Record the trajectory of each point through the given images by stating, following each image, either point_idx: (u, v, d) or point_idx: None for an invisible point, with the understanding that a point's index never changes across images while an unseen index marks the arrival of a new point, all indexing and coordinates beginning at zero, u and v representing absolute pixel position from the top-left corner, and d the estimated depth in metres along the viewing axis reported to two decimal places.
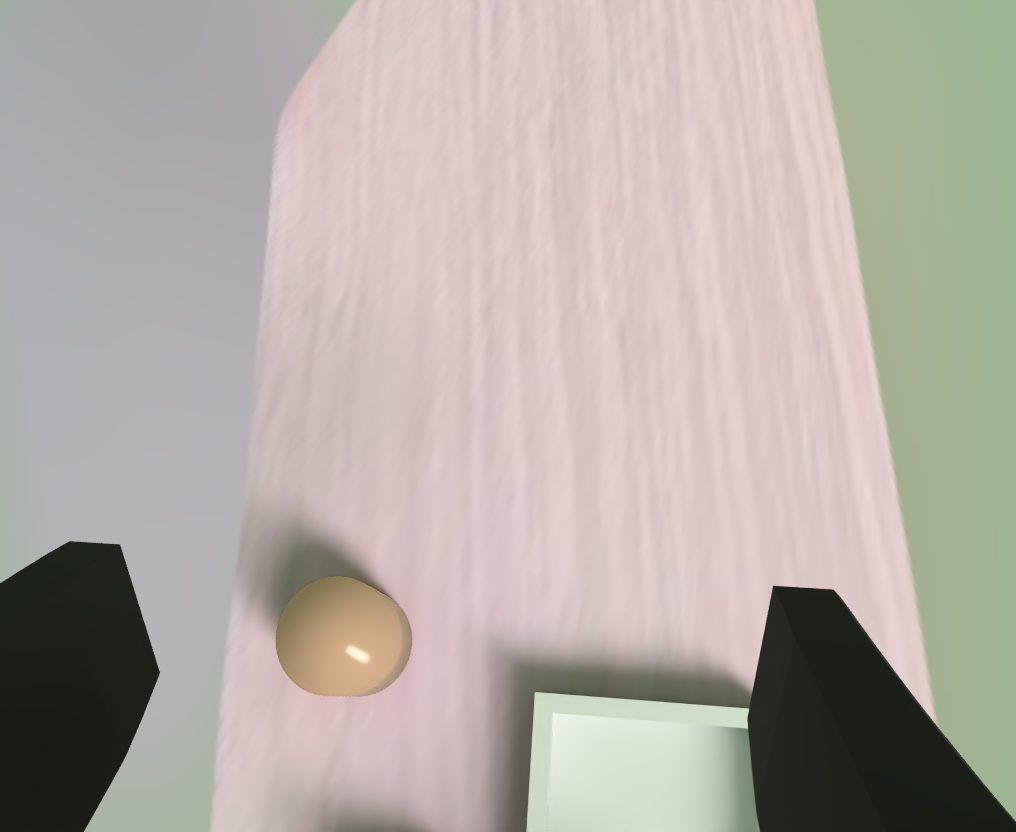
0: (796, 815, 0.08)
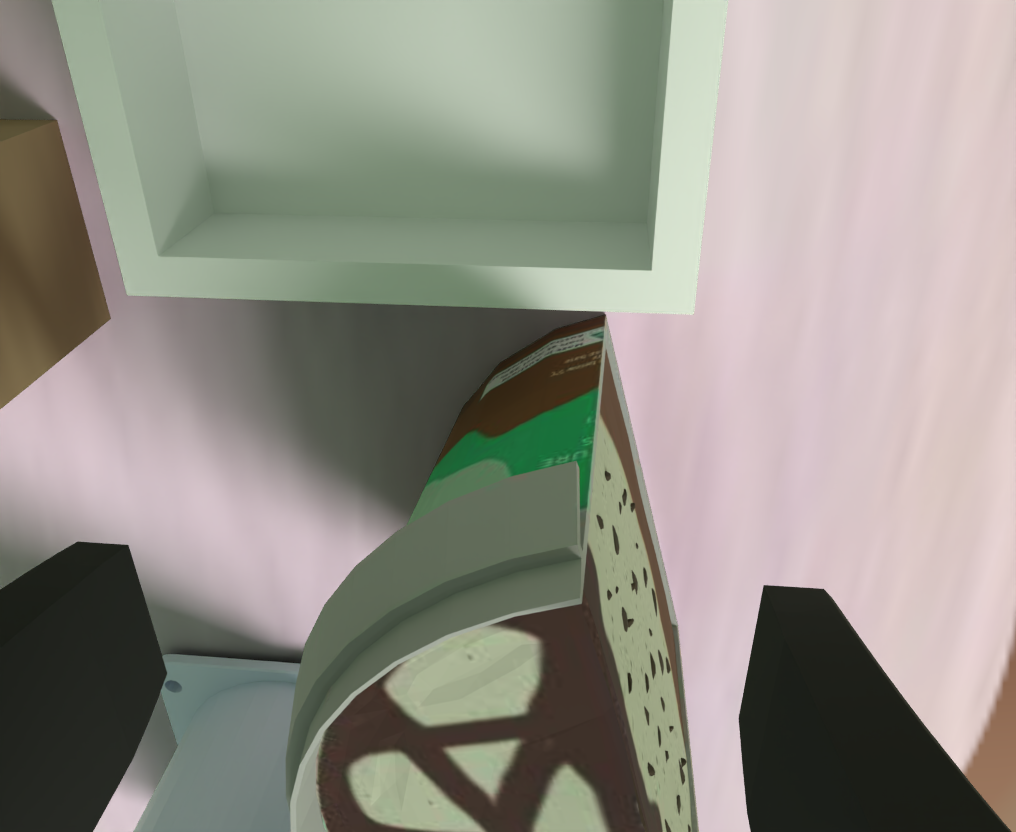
0: (785, 814, 0.08)
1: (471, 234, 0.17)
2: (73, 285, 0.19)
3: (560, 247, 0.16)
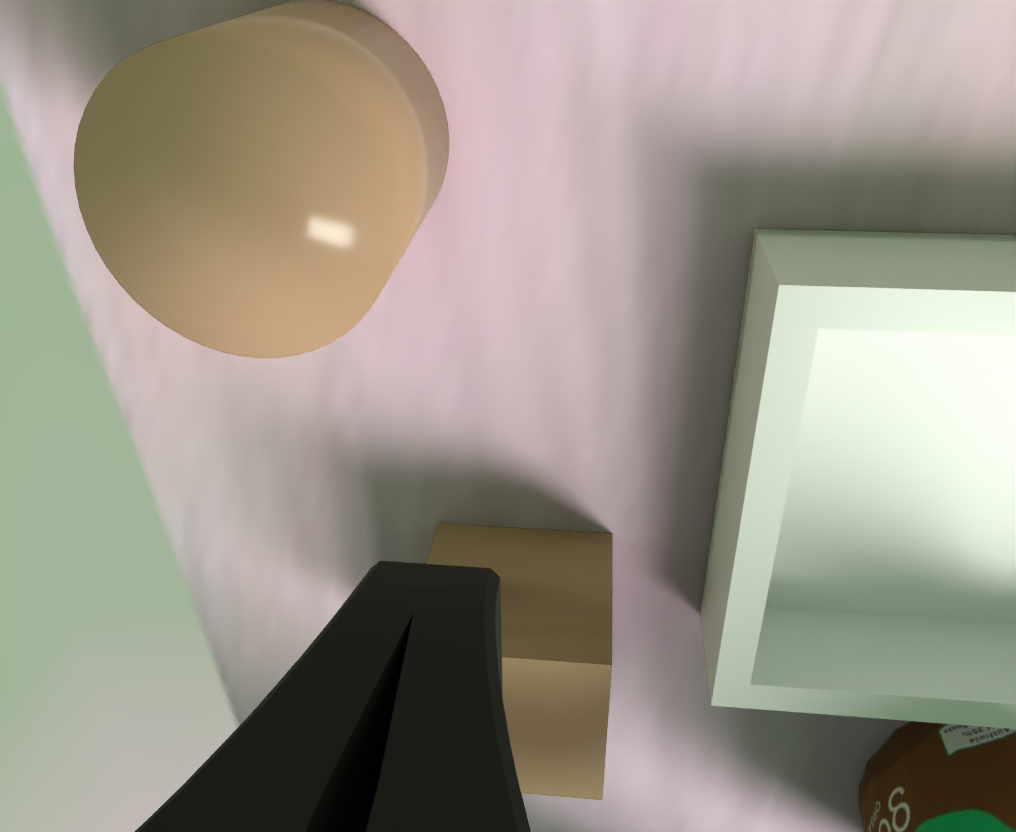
0: None
1: (978, 648, 0.21)
2: None
3: None
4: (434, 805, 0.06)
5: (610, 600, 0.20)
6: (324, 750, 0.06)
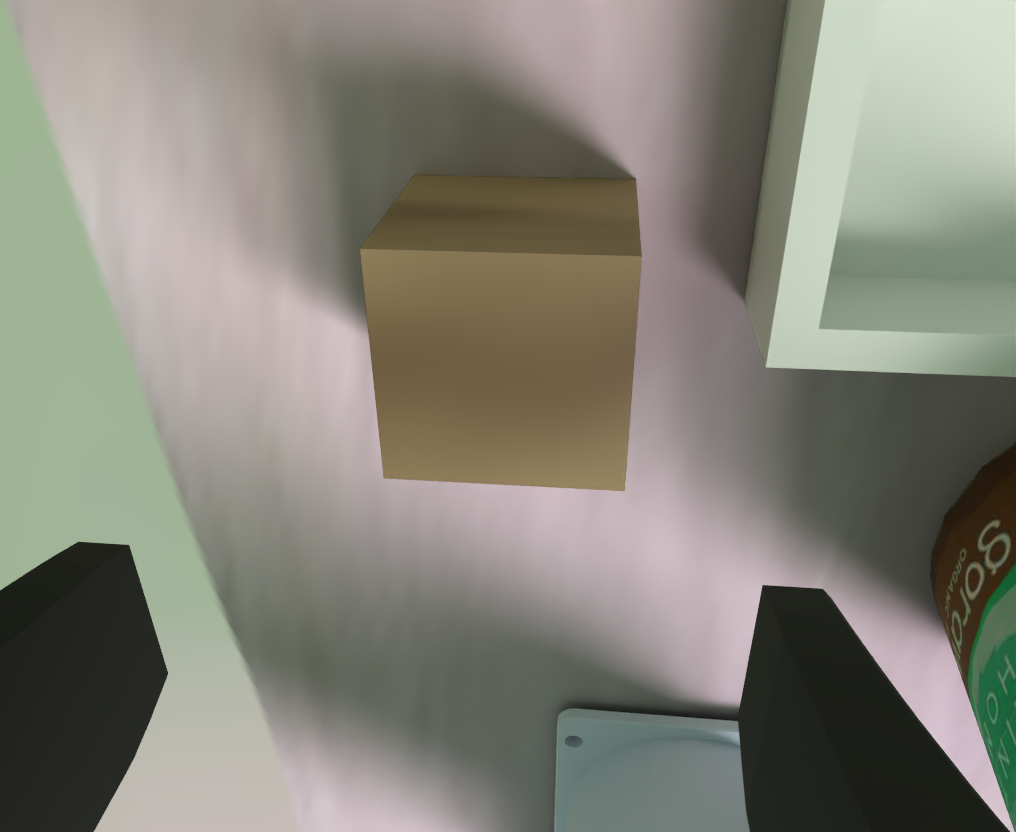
0: (784, 814, 0.08)
1: None
2: None
3: None
4: None
5: (636, 216, 0.15)
6: None
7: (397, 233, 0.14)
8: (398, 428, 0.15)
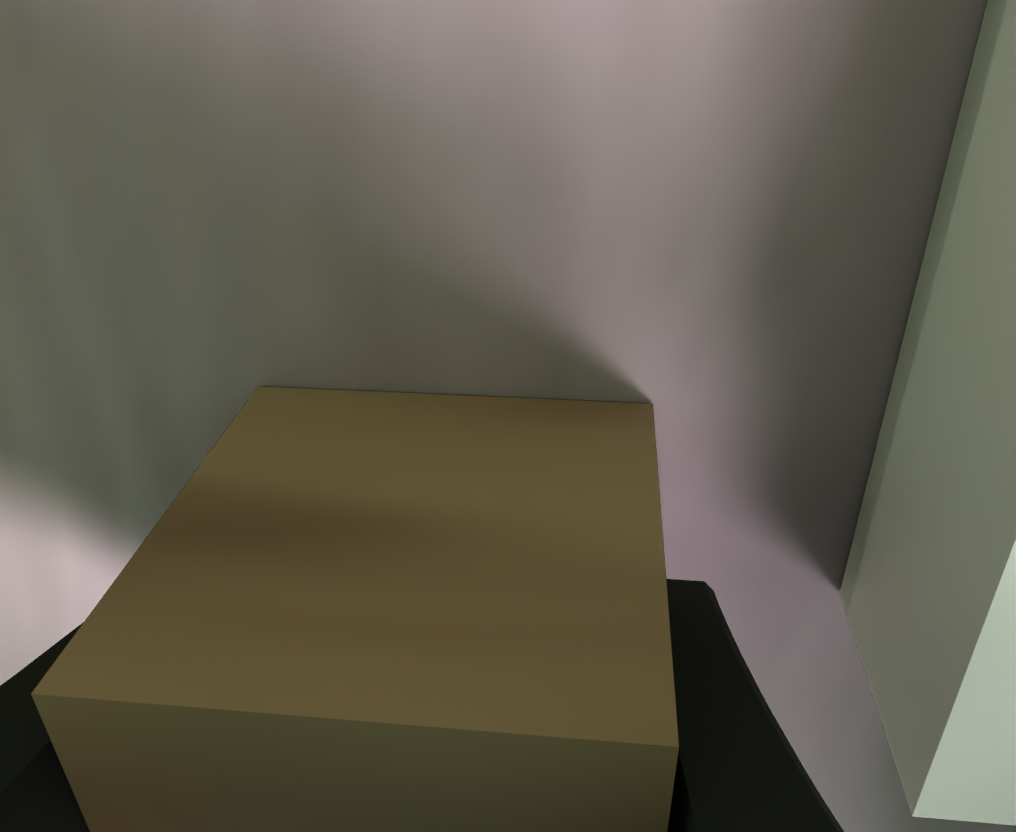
0: None
1: None
2: None
3: None
4: None
5: (659, 552, 0.07)
6: (44, 726, 0.07)
7: (144, 615, 0.07)
8: None
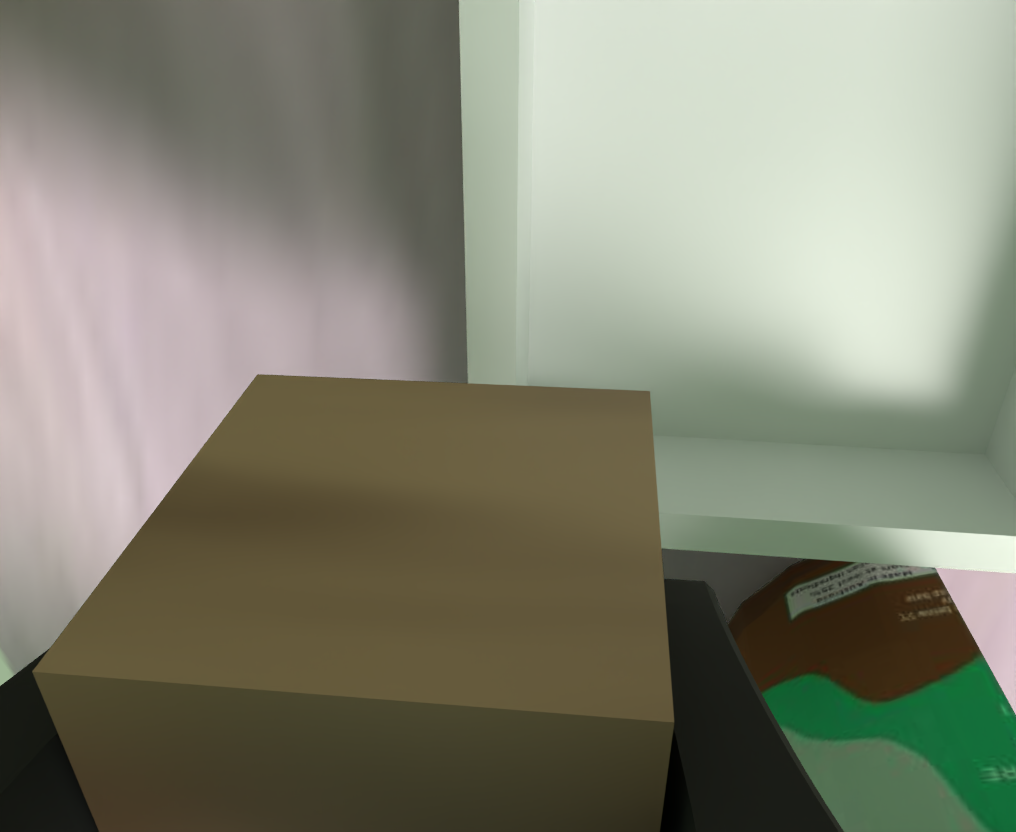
0: None
1: (816, 470, 0.16)
2: None
3: (922, 495, 0.16)
4: None
5: (656, 535, 0.07)
6: (44, 726, 0.07)
7: (144, 596, 0.07)
8: None
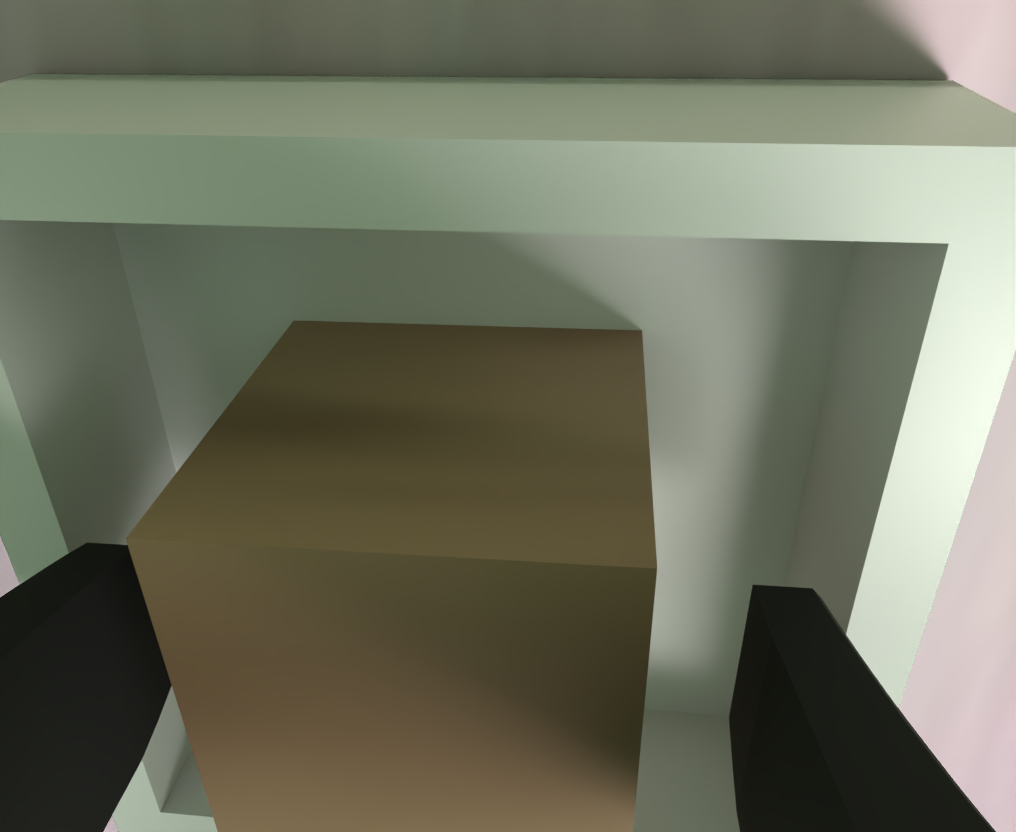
0: (773, 813, 0.08)
1: None
2: None
3: (659, 793, 0.13)
4: None
5: (645, 438, 0.09)
6: None
7: (212, 485, 0.08)
8: (238, 792, 0.09)
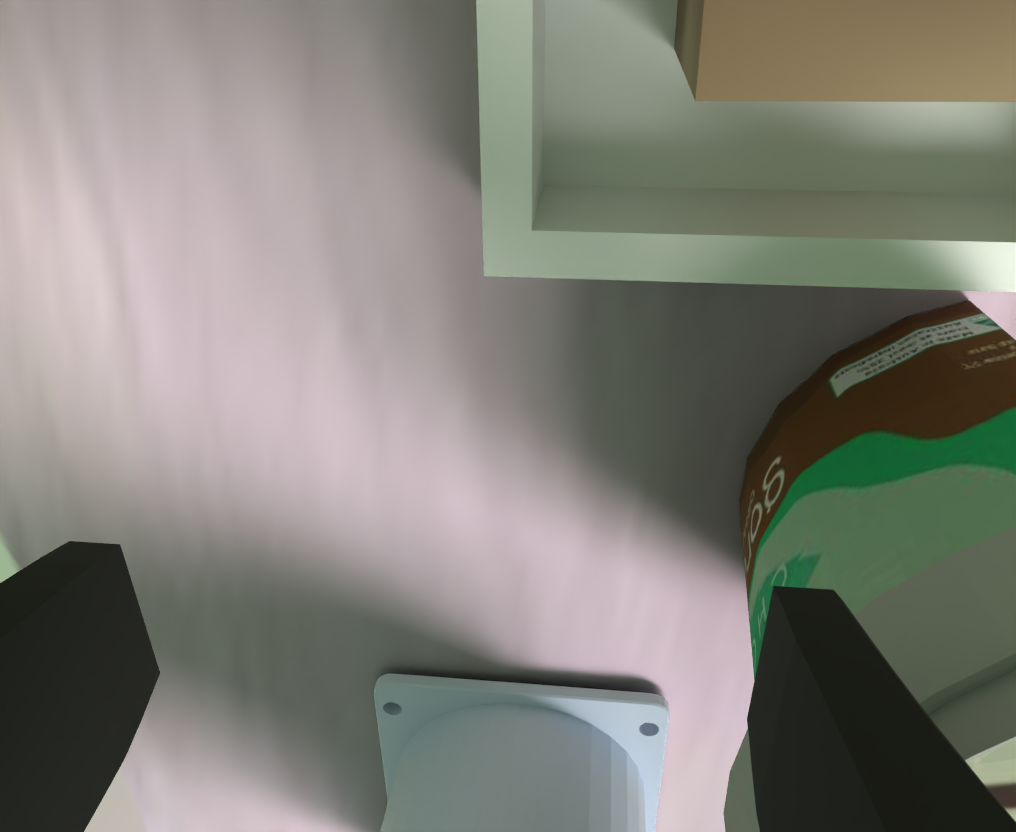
0: (796, 815, 0.08)
1: (867, 207, 0.15)
2: None
3: (989, 220, 0.14)
4: None
5: None
6: None
7: None
8: (736, 2, 0.10)
